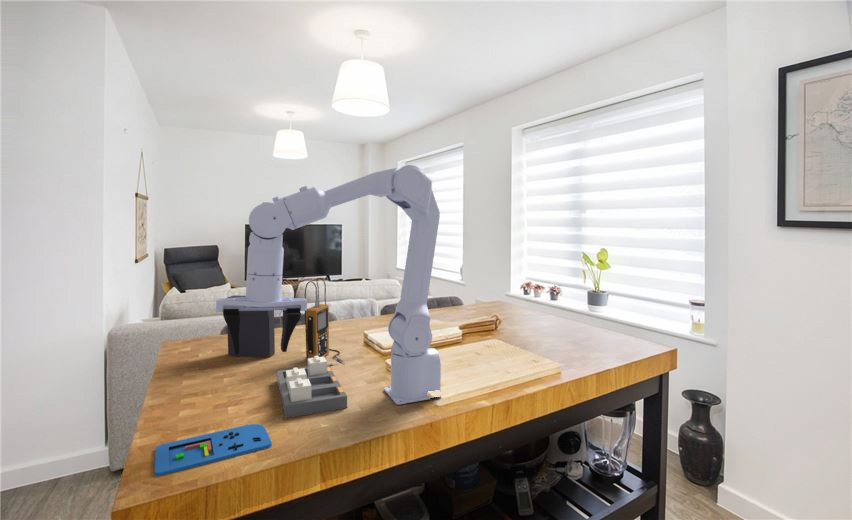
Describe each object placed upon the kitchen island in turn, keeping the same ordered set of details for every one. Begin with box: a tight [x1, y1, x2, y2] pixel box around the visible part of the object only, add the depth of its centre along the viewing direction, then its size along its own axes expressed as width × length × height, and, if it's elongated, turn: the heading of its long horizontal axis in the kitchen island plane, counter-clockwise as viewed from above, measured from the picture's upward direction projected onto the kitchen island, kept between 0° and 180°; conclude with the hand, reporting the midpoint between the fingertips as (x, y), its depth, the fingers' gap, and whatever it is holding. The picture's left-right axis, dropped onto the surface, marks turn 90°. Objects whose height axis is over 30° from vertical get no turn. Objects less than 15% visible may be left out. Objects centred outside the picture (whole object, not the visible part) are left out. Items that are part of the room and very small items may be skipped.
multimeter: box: [304, 277, 347, 367], centre depth 102 cm, size 15×10×20 cm
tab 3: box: [307, 356, 328, 376], centre depth 89 cm, size 4×4×4 cm
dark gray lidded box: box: [226, 295, 276, 358], centre depth 105 cm, size 11×4×15 cm, turn 84°
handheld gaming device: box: [153, 423, 273, 477], centre depth 62 cm, size 8×1×15 cm
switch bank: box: [276, 364, 348, 419], centre depth 82 cm, size 11×18×2 cm, turn 24°
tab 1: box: [286, 366, 307, 390], centre depth 81 cm, size 4×4×4 cm
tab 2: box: [289, 378, 311, 403], centre depth 76 cm, size 4×4×4 cm
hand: (260, 351), depth 72 cm, fingers open, 7 cm apart
